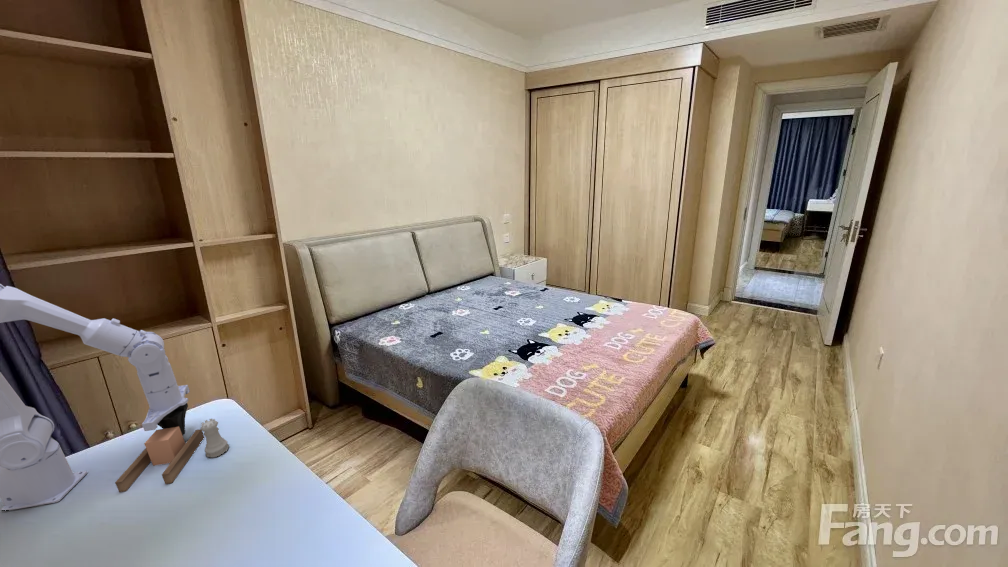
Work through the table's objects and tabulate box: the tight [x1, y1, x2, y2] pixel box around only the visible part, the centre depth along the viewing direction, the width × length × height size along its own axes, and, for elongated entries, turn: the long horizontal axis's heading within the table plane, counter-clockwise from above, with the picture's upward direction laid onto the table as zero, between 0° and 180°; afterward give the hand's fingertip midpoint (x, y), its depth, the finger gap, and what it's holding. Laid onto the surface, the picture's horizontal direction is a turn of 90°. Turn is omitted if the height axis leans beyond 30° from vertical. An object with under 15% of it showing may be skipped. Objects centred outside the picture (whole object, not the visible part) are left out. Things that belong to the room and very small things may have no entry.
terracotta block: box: [143, 427, 186, 467], centre depth 90 cm, size 4×4×6 cm
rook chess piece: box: [199, 418, 230, 459], centre depth 90 cm, size 4×4×8 cm
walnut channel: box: [114, 429, 205, 493], centre depth 88 cm, size 9×14×2 cm
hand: (178, 436), depth 94 cm, fingers closed
